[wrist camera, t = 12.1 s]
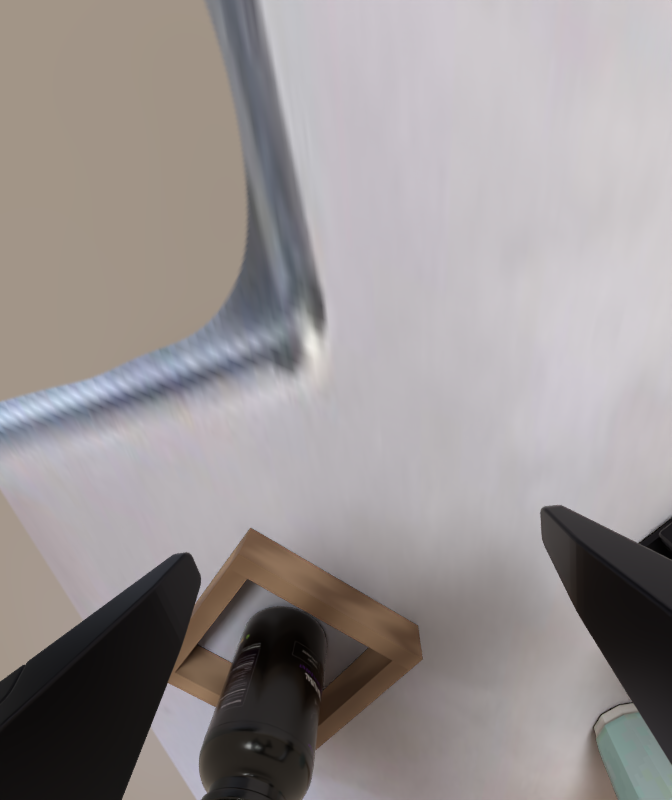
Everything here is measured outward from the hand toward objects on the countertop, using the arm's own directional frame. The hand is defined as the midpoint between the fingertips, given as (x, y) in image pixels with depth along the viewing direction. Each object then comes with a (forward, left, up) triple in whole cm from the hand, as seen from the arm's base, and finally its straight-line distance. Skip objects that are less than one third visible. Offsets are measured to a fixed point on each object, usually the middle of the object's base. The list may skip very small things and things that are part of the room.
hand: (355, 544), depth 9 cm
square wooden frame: (-7, +21, -13) cm, 25 cm away
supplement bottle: (-7, +21, -13) cm, 25 cm away
